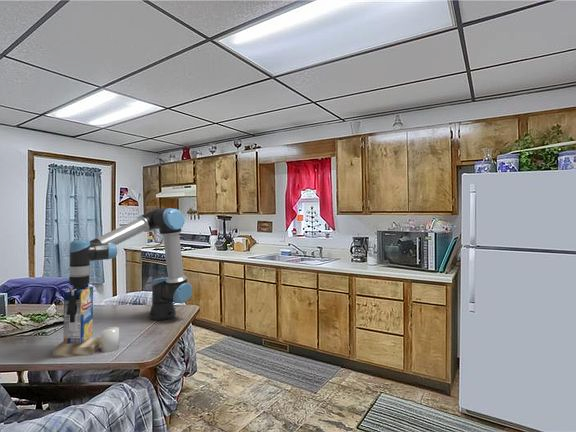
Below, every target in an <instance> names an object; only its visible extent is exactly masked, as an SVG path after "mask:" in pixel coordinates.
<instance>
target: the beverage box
mask: <svg viewBox="0 0 576 432" xmlns="http://www.w3.org/2000/svg"><path fill="white" fill-rule="evenodd" d="M70 290H73V288H70V289H68V290H65V291H63V339H62V340H63V341H62V342H63V344H76V343H82V342H83V341H84V340H86V339H87V338H91V336H92V335H93V334H94V331H93V329H94V328H93V327H94V325H93V324H94V323H93V322H94V320H93V319H94V317H93V316H94V286H93V285H92V286H89V285H88V287H85V289H83V290H79V291H77V299H76V305H77V312H76V314H77V330H69V315H67V309H68V302H69V296H70ZM73 296H74V295H73Z"/></svg>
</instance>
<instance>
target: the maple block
mask: <svg viewBox="0 0 576 432" xmlns="http://www.w3.org/2000/svg"><path fill="white" fill-rule="evenodd" d="M100 348H101V337H88V338H87V339H86V340H84V341H83V342H82V343H76V344H63V341H61V342H60V343H59V344H58V345H56V346H55V347H54V348H53V349H52V350H53V351H52V353H53V355H52V358H66V357H78V356H79V357H80V356H81V357H82V356H90V355H91V356H92V355H94V354H95V353H96V352H97V350H98V349H100Z"/></svg>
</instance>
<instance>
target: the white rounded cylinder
mask: <svg viewBox="0 0 576 432" xmlns="http://www.w3.org/2000/svg"><path fill="white" fill-rule="evenodd" d="M100 338H101V346H100V348H101V349H100V351H101V352H102V353H105V352H106V353H113V352H117V351H118V350H119V348H120V327H119V326H109V327H105V328H102V329H101V337H100Z"/></svg>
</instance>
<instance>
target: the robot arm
mask: <svg viewBox="0 0 576 432" xmlns="http://www.w3.org/2000/svg"><path fill="white" fill-rule="evenodd" d="M184 225H185V216H184V214H183V213H182V212H181V211H180V210H179V209H178V208H172V207H169V208H168V207H167V208H155V209H152V210H150V211H148V212H146V213H144V214H142V215H139V216H138V217H137V219H135V220H132V221H130V222H128V223H126V224H124V225H122V226H120V227H118V228H116V229H114V230H113V229H112V230H111V231H108V232H107V233H105V234H103V235H100V236H98V237H96V238H93V239H91V240H87V239H86V240H85V239H82V240H78V239H76V240H71V242H70V244H69V268H68V271H69V278H68V279H69V281H68V282H69V283H68V285H69V286H72V287H73V288H72V289H73V290H70V289H69V290H70V296H69V302H68V309H67V315H69V330H77V314H76V312H77V305H76V299H77V291H79V290H83V289H85V287H88V286H89V283H90V275H89V274H90V269H91V268H90V265H91V264H90V263H91V261H102V260H112V259H115V258H116V257H117V256H118V247H117V245H119V244H121V243H123V242H125V241H128V240H130V239H131V238H134V237H135V236H137V235H140V234H141V233H143V232H144V233H149V231H152V230H159V235H161V236H162V237H163V239H162V240H163V246H164V247H163V248H164V253H165V255H164V256H165V262H166V263H165V264H166V270H167V276H166V277H165V276H164V277H158V278H154V279H153V280H152V284H151V290H152V291H151V292H152V293H151V294H152V295H151V296H152V297H151V300H152V303H151V307H150V310H149V313H148V319H149V320H152V321H164V320H170V319H174V318H175V317H176V316H177V310H176V308H175V305H174V303H175V304H184V303H186V302H188V301H189V300H190V299H191V297H192V294H193V286H192V284H190V283H188V277H187V276H186V275H185V273H184V267H183V266H184V264H183V257H182V256H183V255H182V248H181V239H180V234H181V233H182V228H183V227H184ZM73 295H74V296H73Z"/></svg>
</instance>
